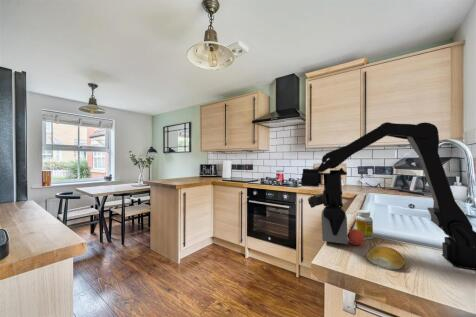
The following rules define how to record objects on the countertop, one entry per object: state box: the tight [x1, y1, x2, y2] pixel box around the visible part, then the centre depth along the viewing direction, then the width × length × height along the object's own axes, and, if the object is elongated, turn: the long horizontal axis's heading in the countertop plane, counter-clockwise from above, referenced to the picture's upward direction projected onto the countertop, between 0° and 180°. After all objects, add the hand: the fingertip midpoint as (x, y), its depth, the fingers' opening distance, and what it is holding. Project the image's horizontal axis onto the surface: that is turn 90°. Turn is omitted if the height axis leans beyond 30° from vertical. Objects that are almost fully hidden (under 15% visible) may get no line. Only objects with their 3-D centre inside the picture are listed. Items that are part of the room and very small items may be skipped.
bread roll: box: [366, 246, 406, 271], centre depth 56 cm, size 8×9×4 cm
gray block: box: [320, 209, 349, 245], centre depth 70 cm, size 8×8×9 cm
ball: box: [347, 228, 366, 246], centre depth 67 cm, size 5×5×5 cm
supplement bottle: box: [355, 209, 374, 240], centre depth 73 cm, size 5×5×10 cm
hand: (334, 231), depth 70 cm, fingers closed on gray block, 8 cm apart
